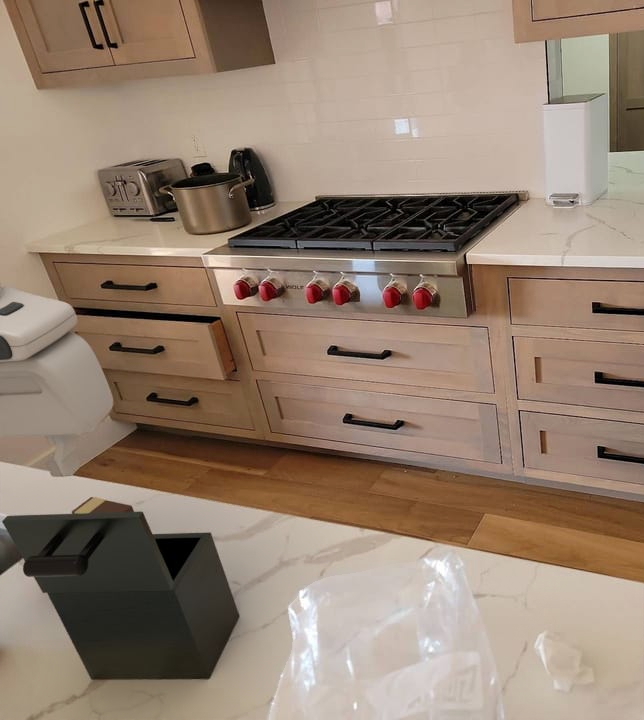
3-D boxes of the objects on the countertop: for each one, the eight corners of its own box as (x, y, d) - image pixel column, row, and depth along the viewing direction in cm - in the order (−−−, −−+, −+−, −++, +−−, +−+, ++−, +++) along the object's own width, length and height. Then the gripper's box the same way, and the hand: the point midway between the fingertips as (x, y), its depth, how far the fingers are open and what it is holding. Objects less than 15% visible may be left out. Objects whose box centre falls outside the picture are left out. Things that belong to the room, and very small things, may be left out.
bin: (132, 617, 82) (95, 535, 76) (239, 616, 80) (210, 532, 75) (90, 679, 74) (46, 593, 69) (209, 679, 73) (174, 590, 67)
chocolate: (138, 521, 99) (132, 504, 97) (119, 538, 96) (112, 521, 94) (98, 512, 102) (91, 496, 100) (78, 528, 99) (70, 511, 97)
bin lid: (7, 515, 64) (-33, 556, 60) (142, 511, 63) (112, 552, 58) (47, 586, 69) (13, 629, 64) (174, 584, 67) (149, 628, 63)
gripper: (-216, 350, 50) (-126, 500, 56) (40, 337, 48) (105, 494, 54) (-140, 317, 56) (-66, 456, 62) (92, 304, 54) (145, 449, 60)
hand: (16, 474), depth 58 cm, fingers open, 8 cm apart
